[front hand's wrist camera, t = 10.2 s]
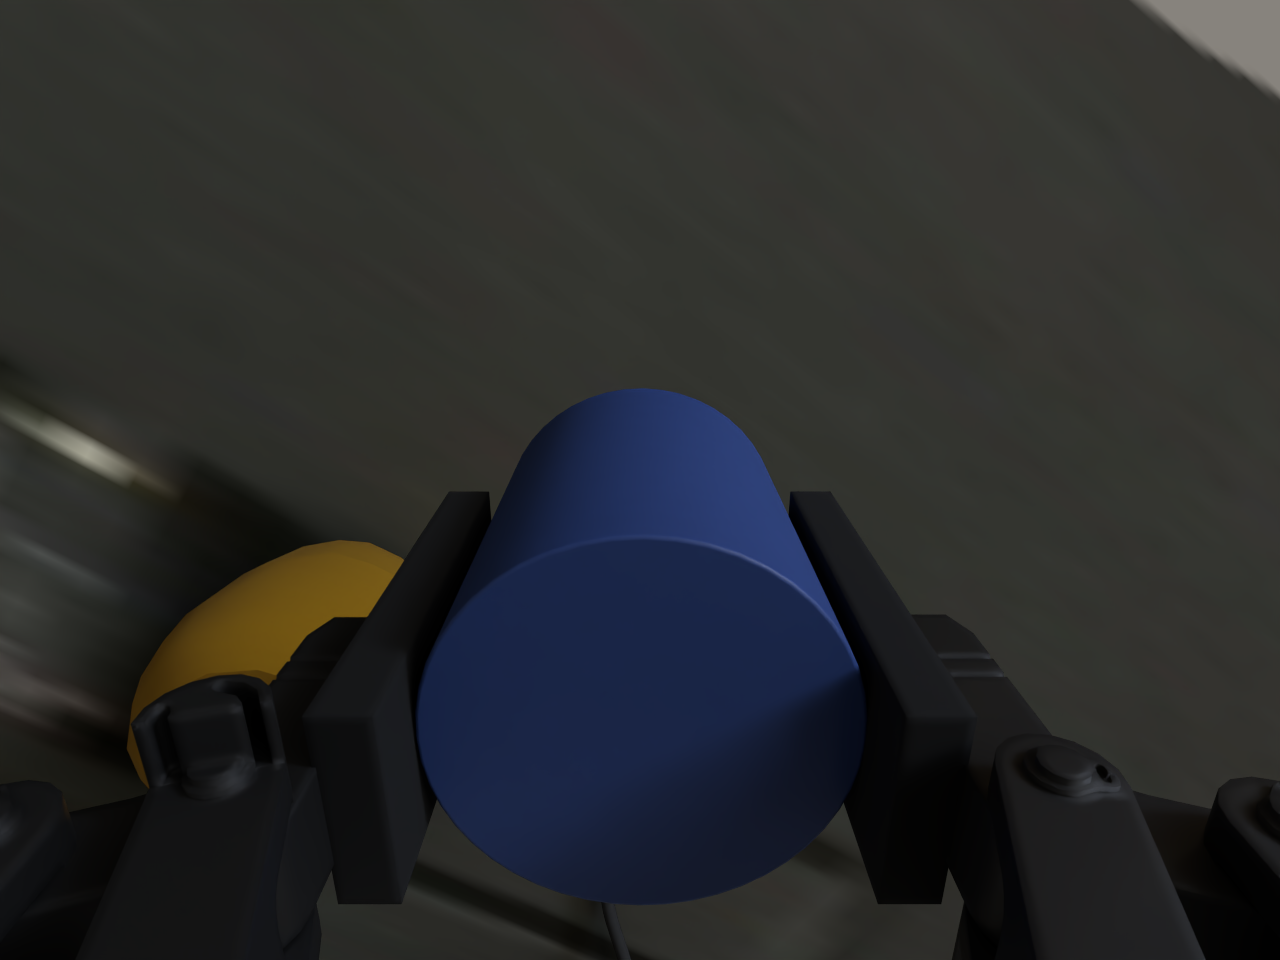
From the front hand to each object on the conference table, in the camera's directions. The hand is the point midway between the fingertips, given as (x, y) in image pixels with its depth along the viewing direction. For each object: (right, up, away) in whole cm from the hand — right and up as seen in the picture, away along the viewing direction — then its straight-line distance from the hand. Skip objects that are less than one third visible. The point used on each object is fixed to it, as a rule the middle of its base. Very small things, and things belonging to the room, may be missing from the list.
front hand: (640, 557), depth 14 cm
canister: (0, +1, +1) cm, 2 cm away
